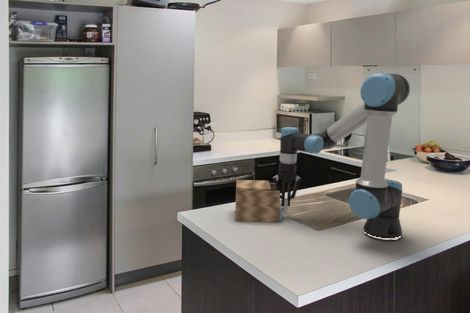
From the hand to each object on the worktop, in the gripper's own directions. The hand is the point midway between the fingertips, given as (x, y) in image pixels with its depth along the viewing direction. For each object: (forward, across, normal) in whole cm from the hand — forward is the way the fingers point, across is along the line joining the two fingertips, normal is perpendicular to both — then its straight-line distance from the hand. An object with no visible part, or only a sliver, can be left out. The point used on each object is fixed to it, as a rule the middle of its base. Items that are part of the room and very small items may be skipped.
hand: (285, 213), depth 192 cm
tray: (+2, +11, 0) cm, 12 cm away
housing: (+2, +13, 0) cm, 13 cm away
